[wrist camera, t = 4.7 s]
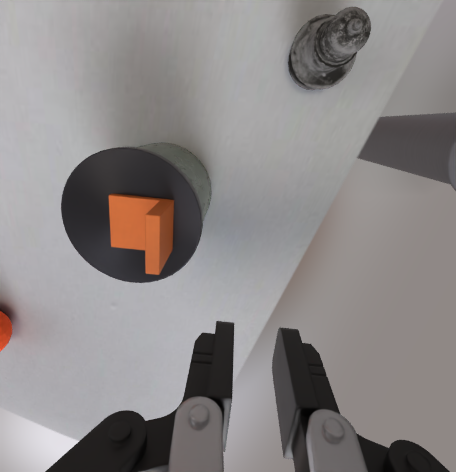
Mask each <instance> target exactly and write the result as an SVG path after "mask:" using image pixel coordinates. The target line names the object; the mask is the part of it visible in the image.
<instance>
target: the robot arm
mask: <svg viewBox="0 0 456 472" xmlns="http://www.w3.org/2000/svg"><path fill="white" fill-rule="evenodd" d="M233 348H234V323H231V322H222V321H217V322H216V331H215V334H210V333H202V334H201V335H200V336H199V337H198V338H197V340H196V341H195V345H194V349H193V354H192V359H191V364H190V369H189V374H188V379H187V383H186V388H185V393H184V397H183V400H182V402H181V404H180V405H179V407H178V408H177V409H176V410H175V411H173V412H172V413H171V414H169V415H167V416H164V417H161V418H157V419H153V420H148V421H145V420H144V418H143V417H142V416H141V415H140V414H138V413H136V412H134V411H119V412H116V413H114V414H111V415H110V416H108V417H107V418H105V419H104V420H103V421H102V422H101V423H100V424H98V425H97V426H96V427H95V428H94V429H93V430H92V431H91V432H89V433H88V434H87V435H86V436H85V437H84V438H83V439H82V440H80V441H79V442H78V443H77V444H76V445H75V446H74V447H73V448H72V449H70V450H69V451H68V452H67V453H66V454H65V455H64V456H62V457H61V458H60V459H59V460H58V461H57V462H56V463H55V464H53V466H51V467H50V468H49V469H48V470H47V471H46V472H224V464H223V463H224V461H223V452H225V447H226V440H227V433H228V425H229V418H230V410H231V403H232V384H233ZM272 373H273V381H274V388H275V396H276V404H277V411H278V419H279V426H280V434H281V441H282V449H283V457H284V458H288V459H293V460H294V466H295V472H449V471H448V470H447V469H446V468H445V467H444V466H443V465H442V464H441V463H440V462H439V461H438V460H437V459H436V458H435V457H434V456H433V455H431V454H430V453H429V452H428V451H427V450H425V449H424V448H422V447H421V446H419V445H418V444H415V443H413V442H410V441H406V440H397V441H395V442H393V443H392V444H391V446H390V447H389V448H387V447H385V446H382V445H380V444H377V443H375V442H372V441H370V440H367V439H365V438H363V437H362V436H360V435H358V434H357V433H356V432H355V430H354V428H353V426H352V425H351V423H349V421H348V420H347V419H346V418H344V417H343V416H342V415H341V414H340V412H339V409H338V406H337V404H336V401H335V398H334V395H333V392H332V389H331V386H330V384H329V381H328V378H327V377H326V372H325V369H324V367H323V363H322V360H321V358H320V355H319V353H318V352H317V351H316V350H315V348H314V347H313V346H312V345H311V344H306V343H302V341H301V337H300V334H299V331H298V330H297V329H289V328H279V329H278V333H277V339H276V344H275V349H274V354H273V362H272Z"/></svg>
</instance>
